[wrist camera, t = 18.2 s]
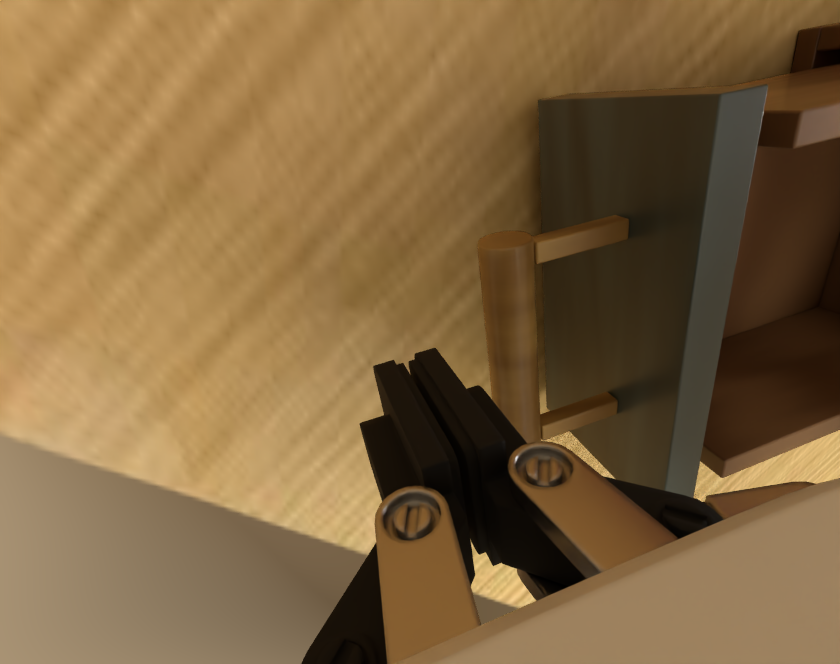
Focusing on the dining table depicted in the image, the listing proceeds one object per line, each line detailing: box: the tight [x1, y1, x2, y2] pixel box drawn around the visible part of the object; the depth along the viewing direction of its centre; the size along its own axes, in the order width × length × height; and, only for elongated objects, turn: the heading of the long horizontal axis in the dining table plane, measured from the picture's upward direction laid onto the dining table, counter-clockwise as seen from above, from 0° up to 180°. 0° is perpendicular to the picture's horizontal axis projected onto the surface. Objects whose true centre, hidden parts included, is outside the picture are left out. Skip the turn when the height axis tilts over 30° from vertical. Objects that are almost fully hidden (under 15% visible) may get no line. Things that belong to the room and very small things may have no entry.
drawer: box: [477, 63, 840, 498], centre depth 16 cm, size 19×12×7 cm, turn 99°
